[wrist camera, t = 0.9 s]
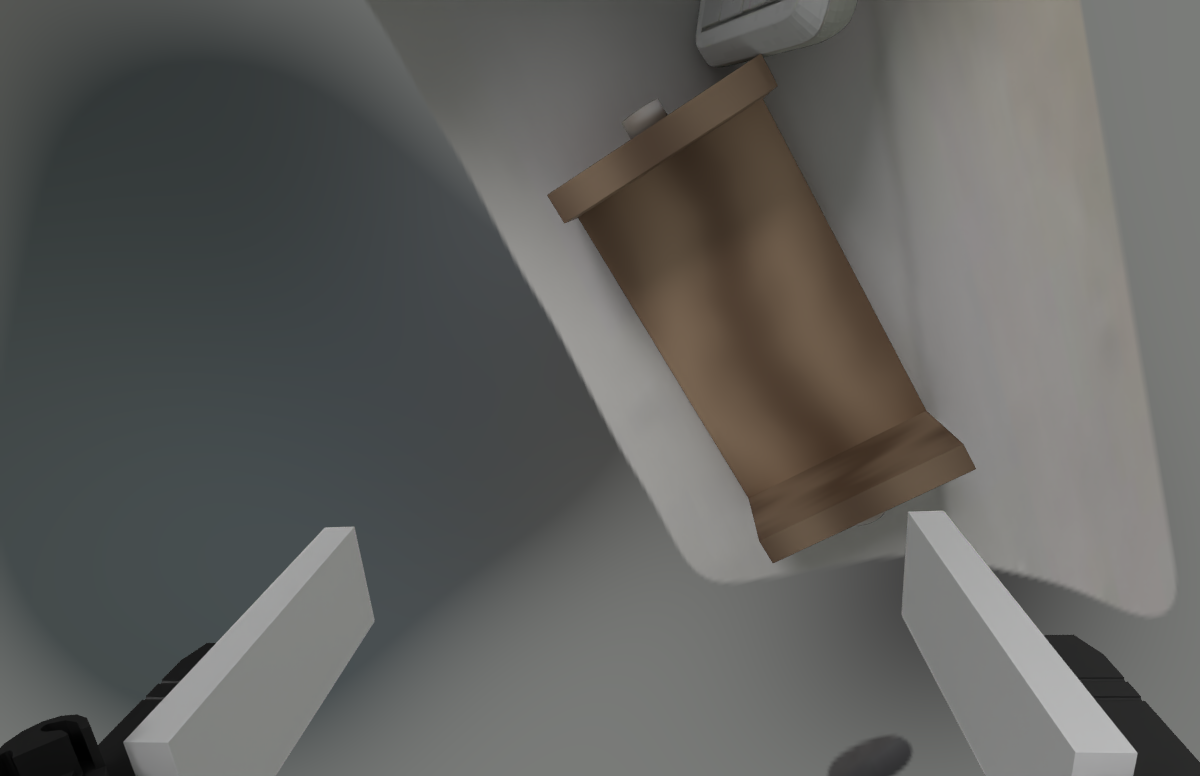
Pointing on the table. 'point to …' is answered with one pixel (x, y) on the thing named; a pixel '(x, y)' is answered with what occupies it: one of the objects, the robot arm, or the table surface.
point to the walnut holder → (760, 314)
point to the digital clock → (765, 27)
